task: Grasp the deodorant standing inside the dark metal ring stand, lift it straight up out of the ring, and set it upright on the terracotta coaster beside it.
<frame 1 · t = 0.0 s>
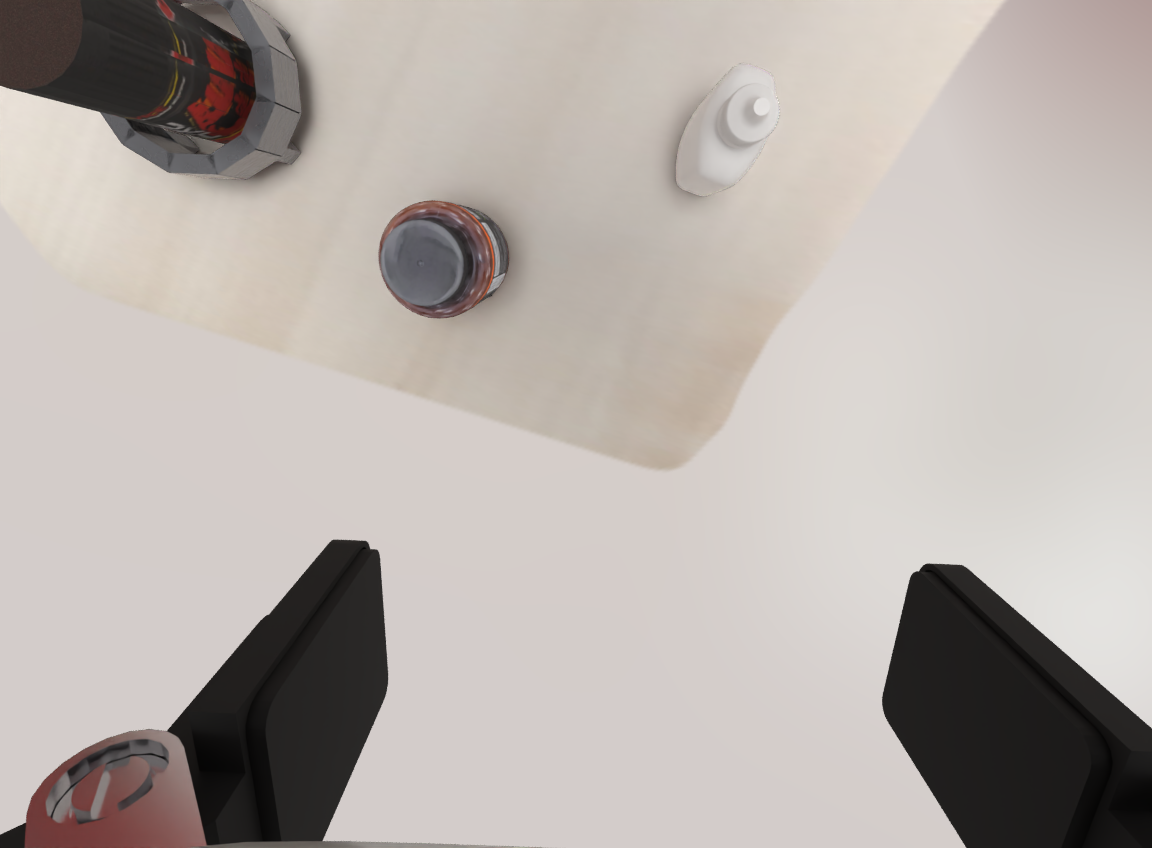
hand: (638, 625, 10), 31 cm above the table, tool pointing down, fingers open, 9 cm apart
eye dropper bottle: (706, 147, 37), on the table
ring stand: (232, 93, 36), on the table
supplement bottle: (466, 255, 39), on the table
deodorant: (234, 93, 36), on the table
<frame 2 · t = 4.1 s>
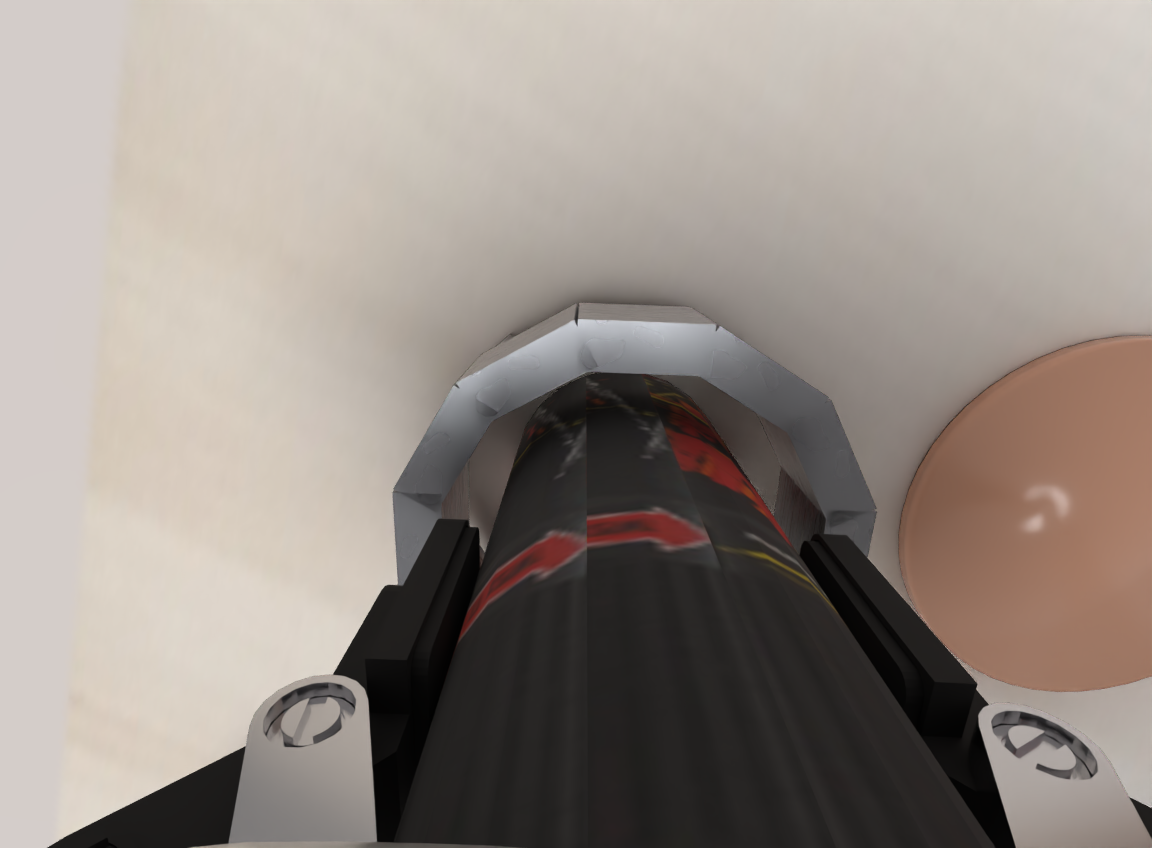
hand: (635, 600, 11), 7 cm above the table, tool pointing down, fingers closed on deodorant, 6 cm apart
ring stand: (618, 470, 17), on the table
coaster: (1087, 520, 18), on the table
deodorant: (617, 467, 18), on the table, touching gripper
when the fingers open (9 cm above the table, at t = 10.2 s): deodorant drops 1 cm, resting on coaster.
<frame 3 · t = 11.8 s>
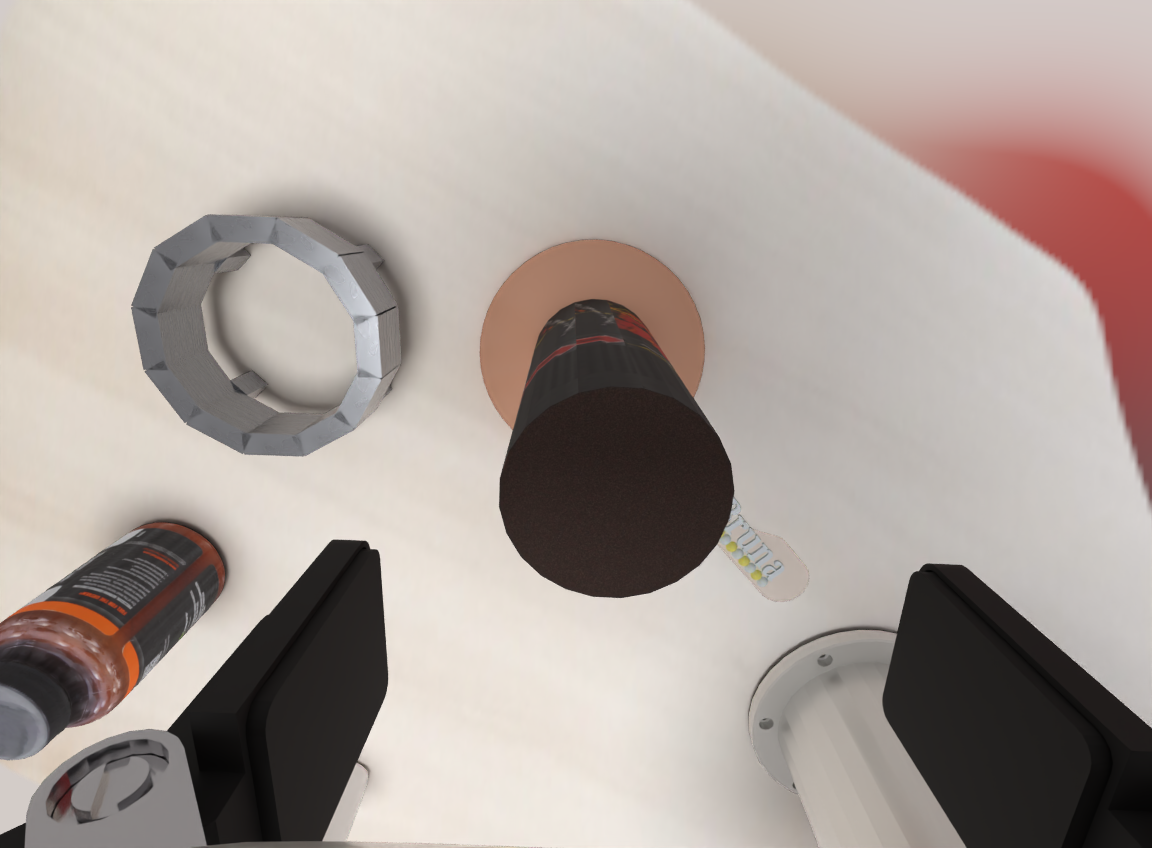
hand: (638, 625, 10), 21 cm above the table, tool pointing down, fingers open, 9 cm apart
eye dropper bottle: (327, 766, 39), on the table
ring stand: (309, 323, 29), on the table
keychain: (742, 531, 34), on the table
coaster: (591, 354, 30), on the table
supplement bottle: (179, 562, 34), on the table
deodorant: (594, 359, 29), point 1 cm above the table, touching coaster
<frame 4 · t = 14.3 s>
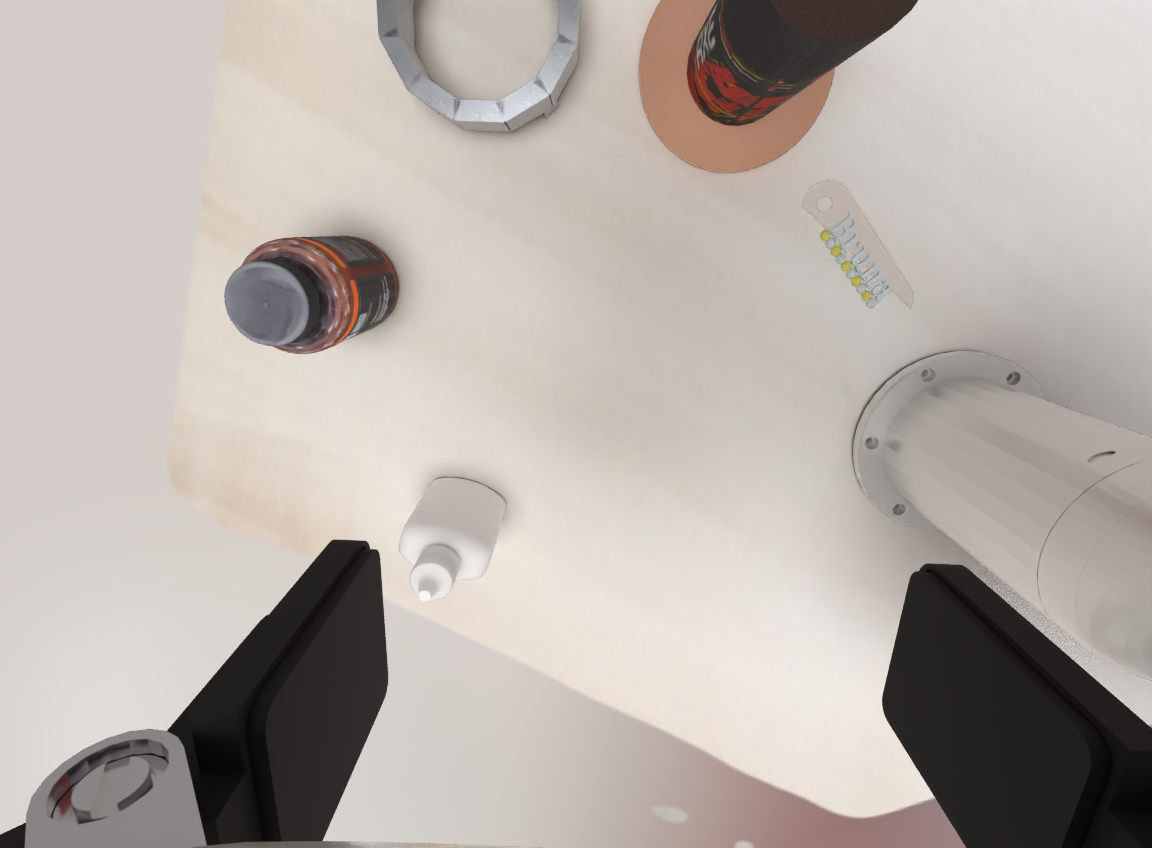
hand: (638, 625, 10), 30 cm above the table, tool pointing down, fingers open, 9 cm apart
eye dropper bottle: (467, 499, 43), on the table
ring stand: (492, 41, 34), on the table
keychain: (855, 254, 38), on the table
coaster: (734, 70, 35), on the table
supplement bottle: (356, 284, 39), on the table
deodorant: (738, 69, 34), point 1 cm above the table, touching coaster
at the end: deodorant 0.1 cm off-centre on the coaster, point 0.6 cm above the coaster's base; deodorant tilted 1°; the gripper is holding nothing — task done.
